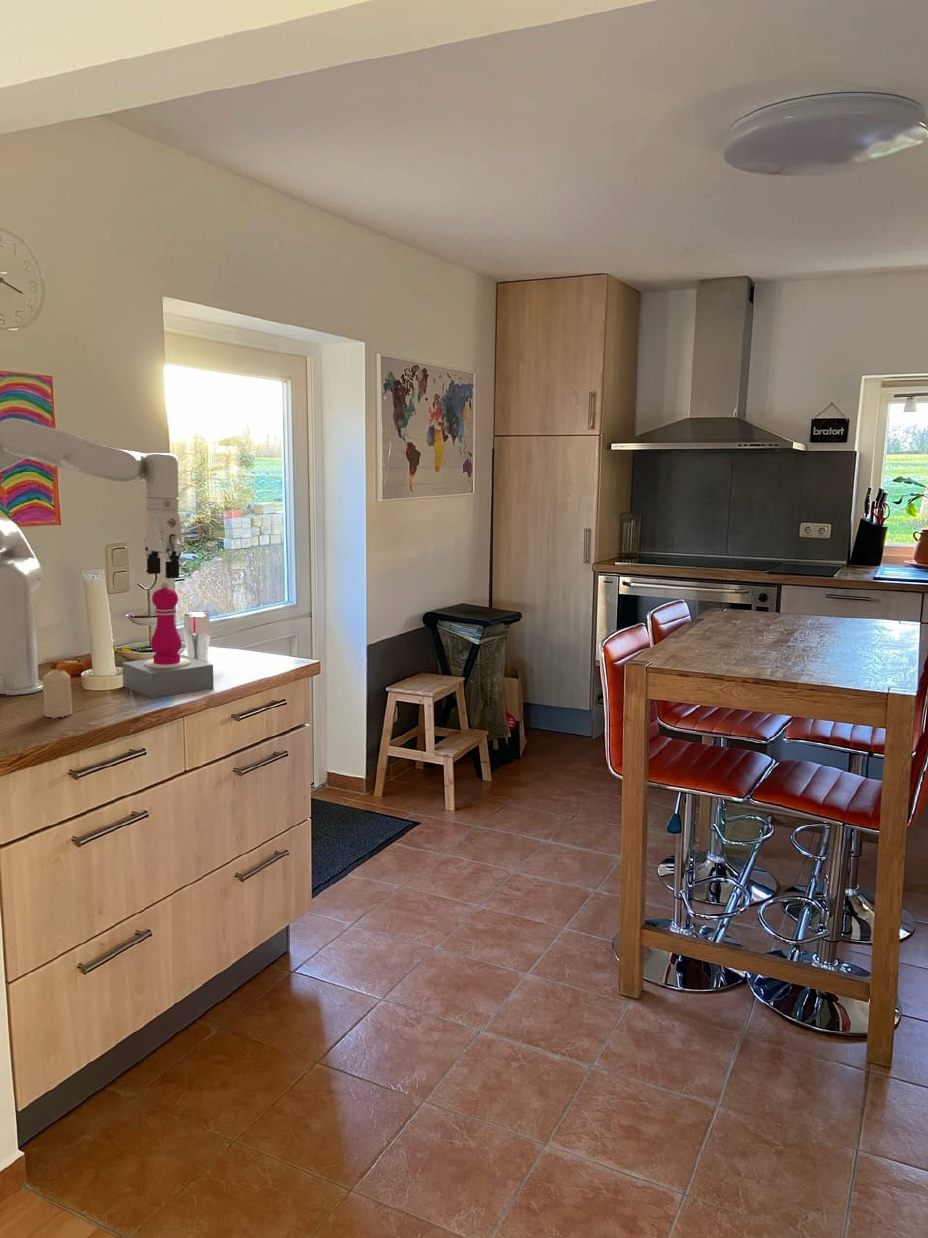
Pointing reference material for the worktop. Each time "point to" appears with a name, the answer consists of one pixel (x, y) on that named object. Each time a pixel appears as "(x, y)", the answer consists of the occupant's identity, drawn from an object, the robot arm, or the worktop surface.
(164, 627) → the pepper mill
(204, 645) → the beer glass
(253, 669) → the worktop surface
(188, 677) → the riser
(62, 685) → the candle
